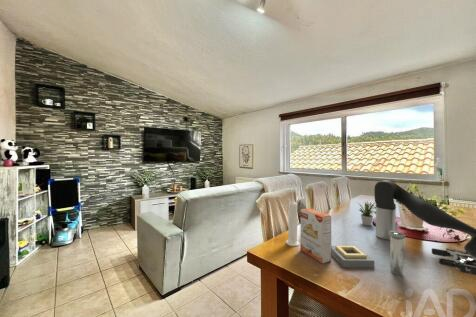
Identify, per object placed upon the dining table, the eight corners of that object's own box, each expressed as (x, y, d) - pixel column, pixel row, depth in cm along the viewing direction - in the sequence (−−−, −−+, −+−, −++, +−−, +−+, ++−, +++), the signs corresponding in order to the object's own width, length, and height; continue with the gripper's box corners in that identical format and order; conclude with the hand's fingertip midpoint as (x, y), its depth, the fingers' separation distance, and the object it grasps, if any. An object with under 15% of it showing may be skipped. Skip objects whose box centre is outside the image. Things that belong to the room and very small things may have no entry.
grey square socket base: (356, 252, 95) (356, 244, 95) (374, 267, 82) (374, 257, 82) (329, 252, 95) (329, 243, 95) (343, 267, 82) (343, 257, 82)
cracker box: (299, 250, 97) (299, 208, 97) (308, 248, 100) (309, 207, 100) (321, 264, 84) (321, 216, 84) (331, 261, 87) (332, 215, 87)
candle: (292, 247, 100) (292, 199, 100) (283, 242, 107) (283, 196, 107) (302, 244, 104) (302, 198, 104) (293, 239, 110) (293, 195, 110)
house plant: (386, 228, 128) (386, 203, 128) (365, 228, 128) (365, 203, 128) (371, 221, 142) (372, 199, 142) (352, 221, 142) (353, 199, 142)
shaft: (397, 269, 81) (398, 230, 81) (408, 276, 76) (408, 235, 76) (385, 269, 81) (385, 230, 81) (395, 276, 76) (395, 235, 76)
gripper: (518, 293, 58) (441, 275, 66) (492, 270, 69) (429, 257, 78) (518, 267, 58) (441, 253, 66) (492, 249, 69) (429, 238, 78)
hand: (435, 255), depth 72 cm, fingers open, 8 cm apart
